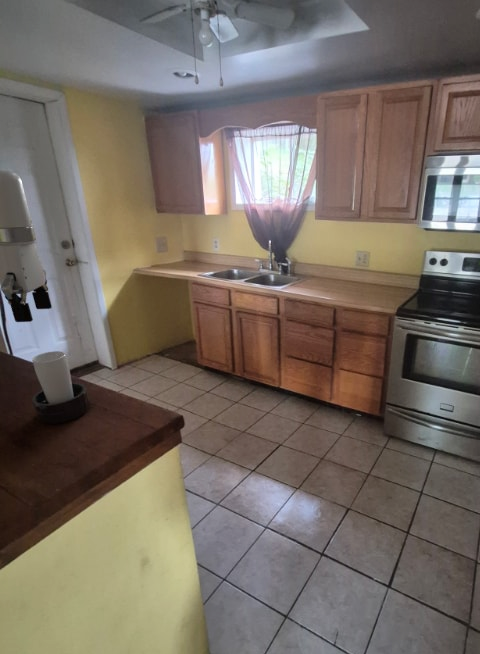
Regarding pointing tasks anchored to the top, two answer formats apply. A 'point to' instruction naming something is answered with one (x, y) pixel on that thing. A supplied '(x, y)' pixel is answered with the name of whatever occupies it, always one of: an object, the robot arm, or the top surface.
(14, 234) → the robot arm
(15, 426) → the top surface
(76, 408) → the bowl
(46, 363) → the drinking glass
